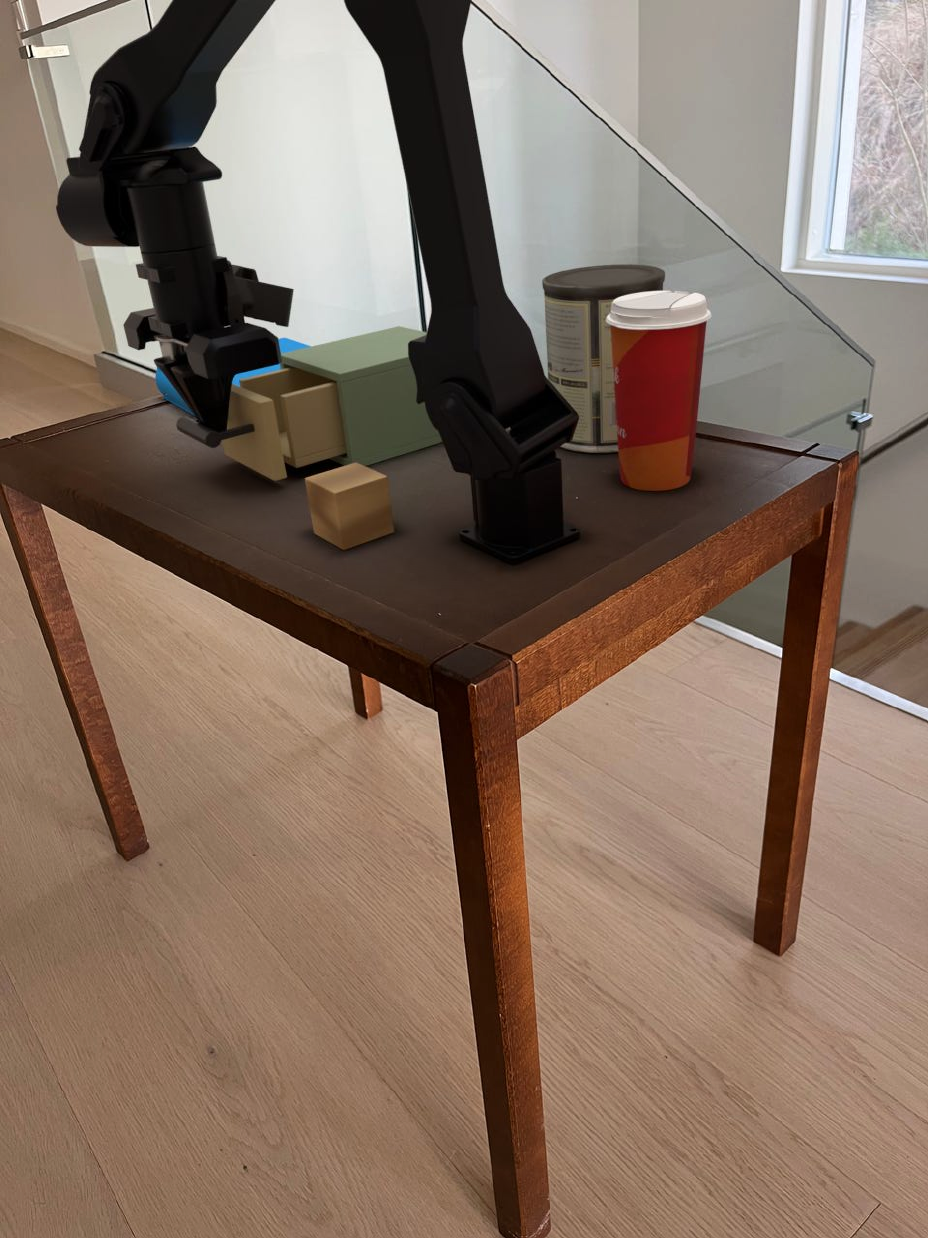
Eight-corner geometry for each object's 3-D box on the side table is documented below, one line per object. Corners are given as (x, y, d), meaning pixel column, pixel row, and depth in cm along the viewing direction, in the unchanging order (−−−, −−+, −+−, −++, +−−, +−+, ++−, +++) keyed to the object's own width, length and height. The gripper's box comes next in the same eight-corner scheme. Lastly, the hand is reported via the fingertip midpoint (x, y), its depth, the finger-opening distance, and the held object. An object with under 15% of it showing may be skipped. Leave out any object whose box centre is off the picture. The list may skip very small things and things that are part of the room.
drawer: (225, 496, 79) (208, 416, 75) (178, 467, 86) (161, 393, 83) (397, 444, 87) (388, 369, 84) (340, 421, 94) (330, 353, 91)
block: (394, 532, 71) (387, 475, 69) (343, 550, 69) (334, 493, 67) (363, 516, 75) (356, 461, 73) (313, 533, 73) (304, 477, 70)
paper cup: (644, 455, 82) (646, 285, 75) (723, 473, 76) (732, 292, 70) (586, 483, 77) (583, 305, 70) (666, 504, 72) (670, 314, 65)
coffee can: (597, 411, 94) (595, 260, 87) (684, 429, 87) (690, 267, 80) (524, 440, 88) (516, 280, 81) (612, 462, 81) (611, 289, 74)
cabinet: (353, 470, 84) (339, 373, 80) (293, 442, 93) (277, 353, 89) (475, 432, 91) (468, 341, 87) (408, 409, 99) (399, 325, 95)
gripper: (325, 238, 72) (353, 438, 79) (224, 226, 85) (256, 398, 93) (186, 262, 66) (230, 474, 74) (101, 245, 80) (146, 426, 87)
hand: (218, 438), depth 82 cm, fingers closed, pressing on drawer
